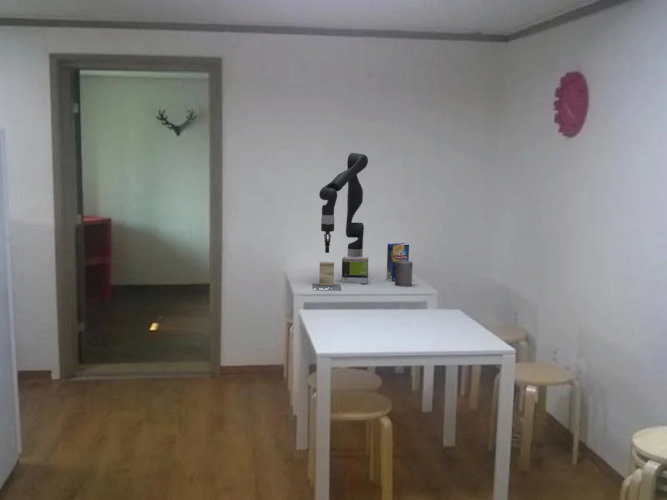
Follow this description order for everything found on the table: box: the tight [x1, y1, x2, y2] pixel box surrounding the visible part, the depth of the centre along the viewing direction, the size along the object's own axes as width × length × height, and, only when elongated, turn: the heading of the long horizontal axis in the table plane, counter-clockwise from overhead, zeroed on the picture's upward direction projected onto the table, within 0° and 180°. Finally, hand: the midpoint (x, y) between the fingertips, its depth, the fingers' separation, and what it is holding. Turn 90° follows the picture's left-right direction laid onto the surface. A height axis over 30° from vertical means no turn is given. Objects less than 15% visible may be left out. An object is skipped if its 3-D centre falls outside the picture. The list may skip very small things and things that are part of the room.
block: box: [318, 261, 335, 286], centre depth 410 cm, size 5×8×13 cm, turn 92°
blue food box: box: [385, 242, 410, 283], centre depth 433 cm, size 7×11×22 cm, turn 116°
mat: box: [311, 283, 342, 292], centre depth 405 cm, size 20×16×1 cm
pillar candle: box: [394, 259, 414, 287], centre depth 419 cm, size 10×10×15 cm
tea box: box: [341, 256, 369, 285], centre depth 424 cm, size 15×10×15 cm
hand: (327, 252), depth 418 cm, fingers closed
